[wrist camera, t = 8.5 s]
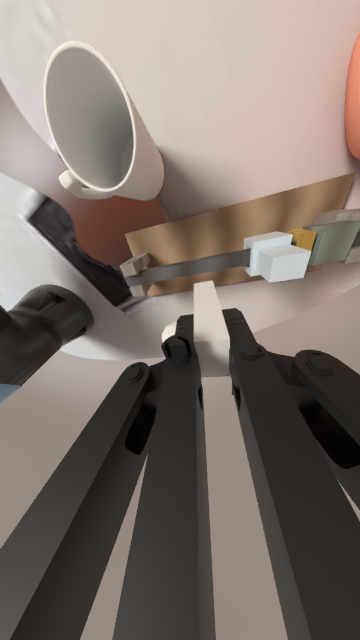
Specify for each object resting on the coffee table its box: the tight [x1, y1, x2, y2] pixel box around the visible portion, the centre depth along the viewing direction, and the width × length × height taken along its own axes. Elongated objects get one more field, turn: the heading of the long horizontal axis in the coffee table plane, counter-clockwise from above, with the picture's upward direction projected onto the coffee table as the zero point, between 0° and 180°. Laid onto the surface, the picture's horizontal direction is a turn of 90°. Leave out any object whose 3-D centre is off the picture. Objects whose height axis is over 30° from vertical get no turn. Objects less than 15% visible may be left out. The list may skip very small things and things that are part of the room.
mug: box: [44, 41, 164, 201], centre depth 16 cm, size 10×7×12 cm, turn 117°
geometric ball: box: [161, 322, 177, 344], centre depth 34 cm, size 8×8×8 cm
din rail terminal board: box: [120, 172, 360, 297], centre depth 21 cm, size 32×12×9 cm, turn 102°
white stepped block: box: [243, 231, 311, 283], centre depth 16 cm, size 4×4×8 cm
